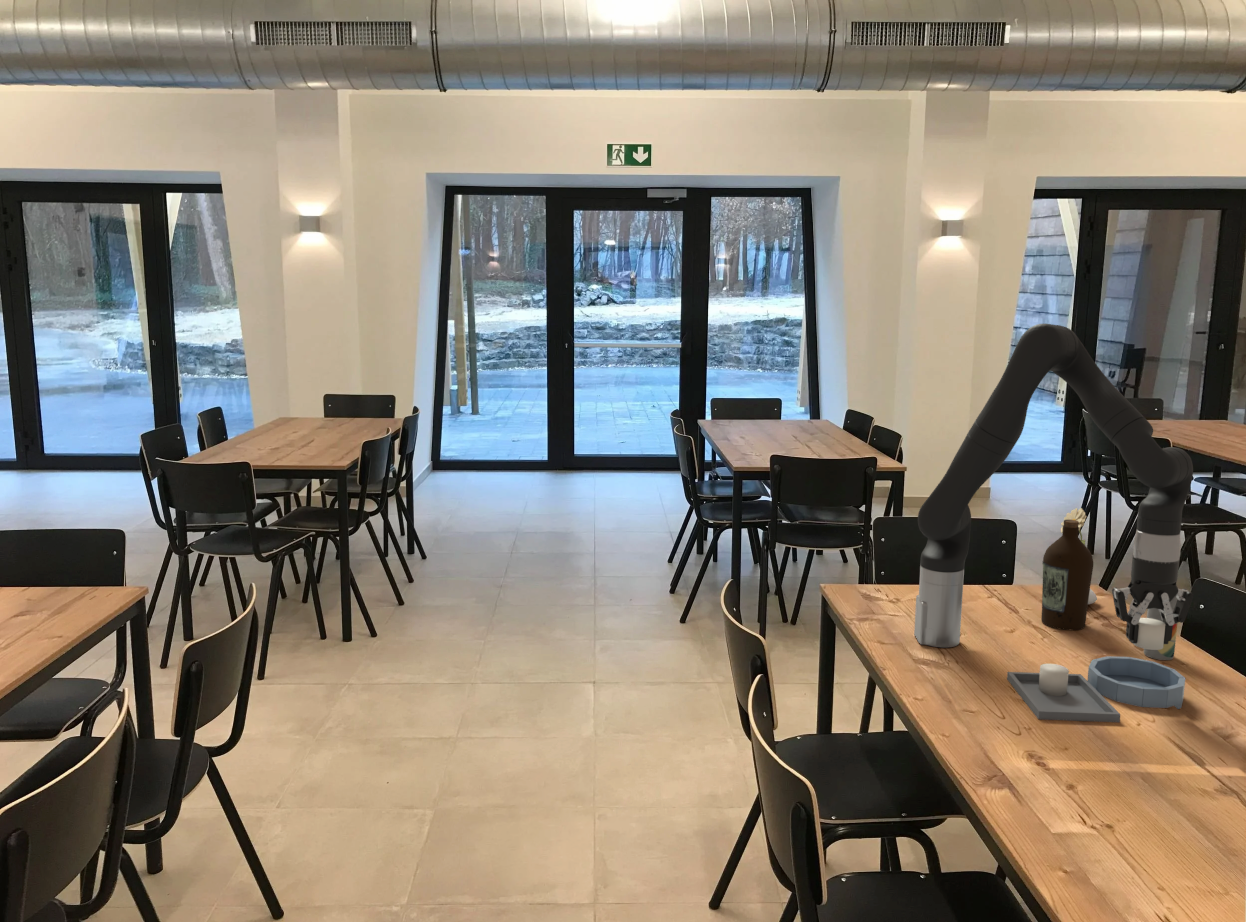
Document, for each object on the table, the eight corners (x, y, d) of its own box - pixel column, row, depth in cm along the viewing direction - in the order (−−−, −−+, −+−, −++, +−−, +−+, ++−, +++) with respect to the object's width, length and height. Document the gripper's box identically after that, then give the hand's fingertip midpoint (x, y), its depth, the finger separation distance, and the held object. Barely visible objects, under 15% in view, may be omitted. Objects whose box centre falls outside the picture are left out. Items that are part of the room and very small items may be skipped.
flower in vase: (1044, 593, 240) (1051, 499, 236) (1093, 597, 236) (1101, 502, 232) (1049, 608, 228) (1057, 510, 224) (1100, 613, 224) (1109, 513, 220)
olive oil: (1061, 613, 224) (1069, 514, 220) (1098, 627, 214) (1107, 523, 210) (1028, 619, 220) (1035, 518, 216) (1064, 634, 210) (1073, 528, 206)
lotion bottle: (1178, 661, 194) (1187, 570, 190) (1148, 659, 195) (1157, 569, 192) (1168, 651, 199) (1177, 562, 196) (1139, 649, 200) (1148, 561, 197)
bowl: (1108, 710, 171) (1110, 687, 170) (1075, 676, 186) (1077, 655, 186) (1199, 713, 169) (1201, 690, 168) (1157, 679, 185) (1160, 657, 184)
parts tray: (1038, 724, 165) (1039, 711, 165) (1006, 683, 183) (1007, 671, 183) (1119, 727, 164) (1120, 714, 164) (1079, 686, 182) (1080, 674, 181)
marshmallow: (1043, 695, 175) (1045, 673, 174) (1034, 684, 180) (1036, 663, 179) (1070, 696, 175) (1072, 674, 174) (1061, 685, 179) (1063, 664, 179)
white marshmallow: (1140, 649, 171) (1142, 626, 170) (1128, 639, 175) (1130, 617, 175) (1168, 650, 170) (1170, 627, 169) (1155, 640, 175) (1157, 618, 174)
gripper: (1186, 550, 173) (1177, 636, 176) (1107, 549, 174) (1099, 634, 177) (1207, 561, 166) (1198, 650, 168) (1124, 559, 167) (1116, 648, 170)
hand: (1147, 641), depth 173 cm, fingers closed on white marshmallow, 5 cm apart
